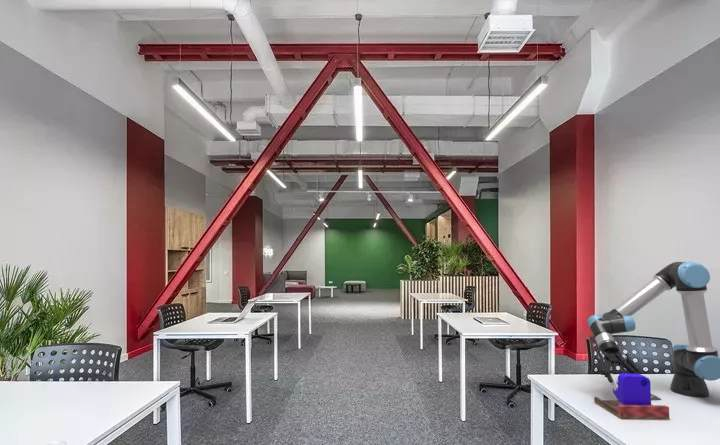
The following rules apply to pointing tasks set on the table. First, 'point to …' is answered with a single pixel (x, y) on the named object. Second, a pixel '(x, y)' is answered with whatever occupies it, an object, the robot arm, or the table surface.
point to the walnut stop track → (634, 410)
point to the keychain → (655, 397)
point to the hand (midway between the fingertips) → (629, 389)
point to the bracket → (633, 389)
